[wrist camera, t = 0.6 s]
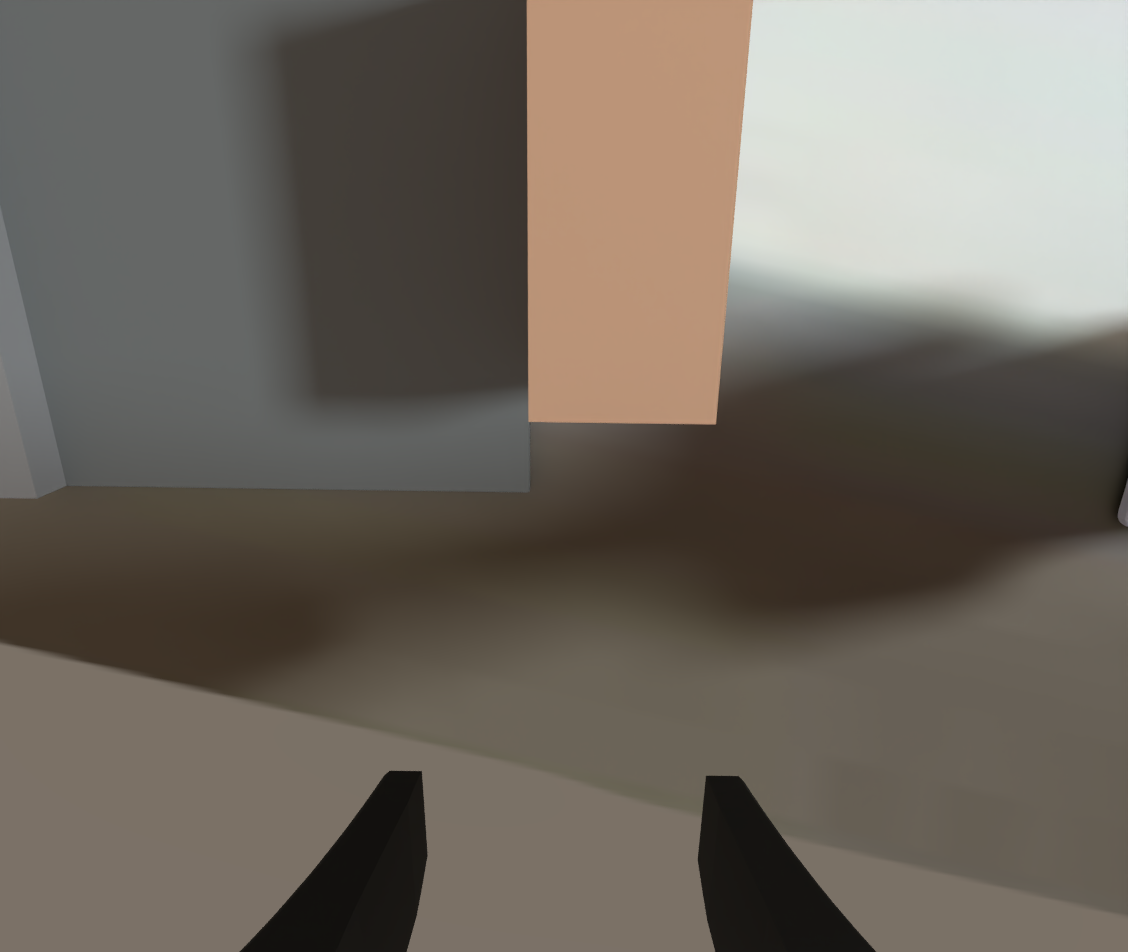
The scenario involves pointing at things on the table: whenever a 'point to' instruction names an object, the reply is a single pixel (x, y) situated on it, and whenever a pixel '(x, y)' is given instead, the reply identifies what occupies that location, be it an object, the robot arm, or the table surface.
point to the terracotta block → (631, 204)
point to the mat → (264, 245)
